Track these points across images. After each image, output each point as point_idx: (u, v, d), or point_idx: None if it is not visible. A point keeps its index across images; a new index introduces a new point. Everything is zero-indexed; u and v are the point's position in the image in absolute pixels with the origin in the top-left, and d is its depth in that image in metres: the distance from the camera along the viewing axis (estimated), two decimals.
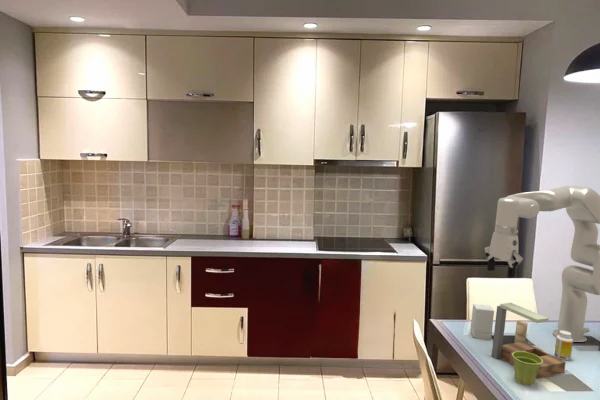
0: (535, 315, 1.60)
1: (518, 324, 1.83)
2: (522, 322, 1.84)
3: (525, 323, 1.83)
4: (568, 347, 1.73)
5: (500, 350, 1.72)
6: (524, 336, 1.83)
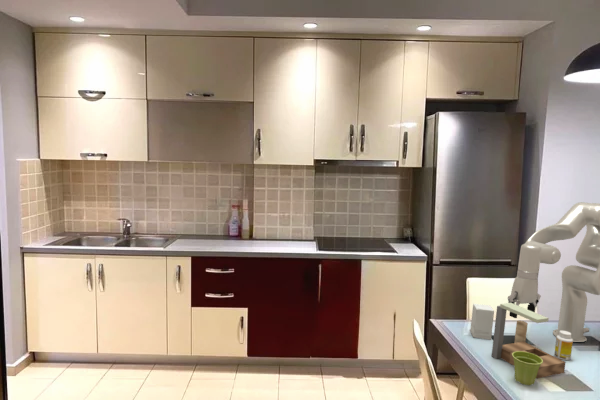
0: (535, 315, 1.60)
1: (518, 324, 1.83)
2: (522, 322, 1.84)
3: (525, 323, 1.83)
4: (568, 347, 1.73)
5: (500, 350, 1.72)
6: (524, 336, 1.83)
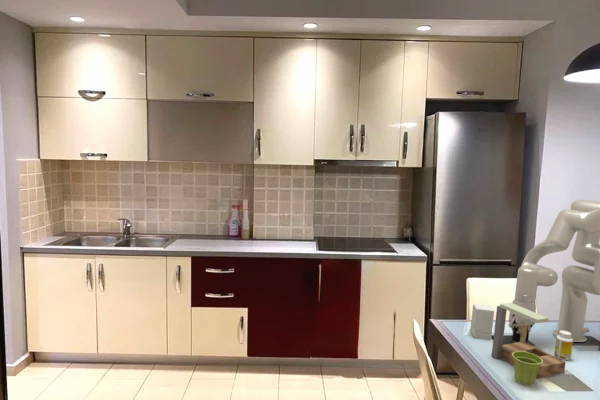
0: (535, 315, 1.60)
1: None
2: None
3: None
4: (568, 347, 1.73)
5: (500, 350, 1.72)
6: (524, 336, 1.83)
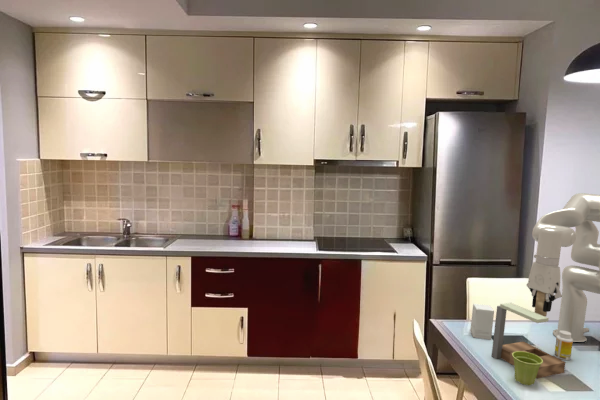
0: (535, 315, 1.60)
1: None
2: None
3: None
4: (568, 347, 1.73)
5: (500, 350, 1.72)
6: None
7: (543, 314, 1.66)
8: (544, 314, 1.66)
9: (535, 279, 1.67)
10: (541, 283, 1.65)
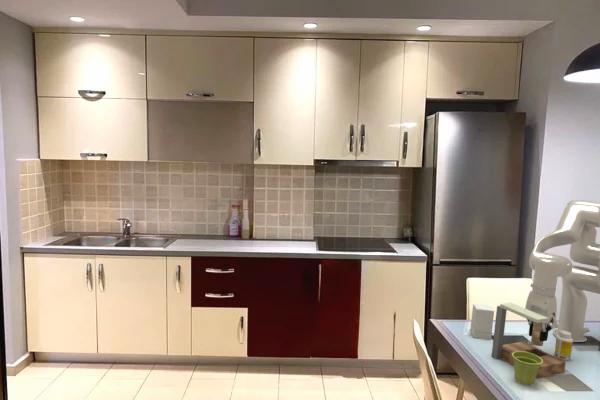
0: (535, 315, 1.60)
1: None
2: None
3: None
4: (568, 347, 1.73)
5: (500, 350, 1.72)
6: None
7: (540, 343, 1.67)
8: (541, 343, 1.68)
9: (532, 308, 1.69)
10: (538, 313, 1.66)
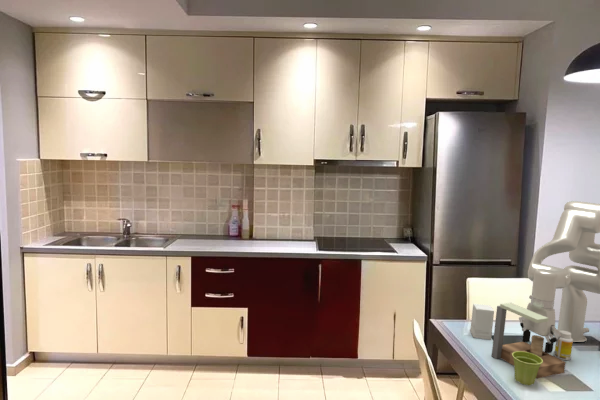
0: (535, 315, 1.60)
1: (542, 341, 1.68)
2: (537, 337, 1.70)
3: (539, 336, 1.70)
4: (568, 347, 1.73)
5: (500, 350, 1.72)
6: None
7: None
8: None
9: (530, 320, 1.69)
10: (536, 325, 1.67)
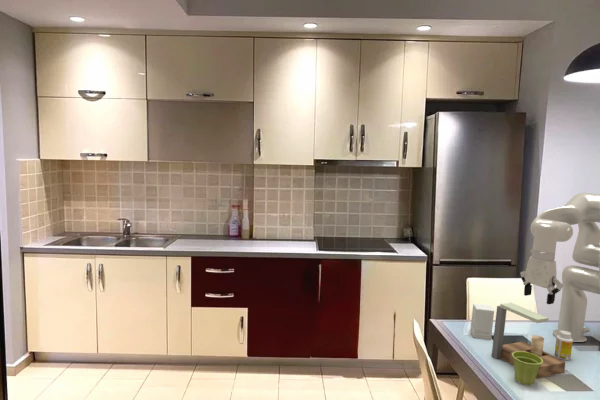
0: (535, 315, 1.60)
1: (542, 341, 1.68)
2: (537, 337, 1.70)
3: (539, 336, 1.70)
4: (568, 347, 1.73)
5: (500, 350, 1.72)
6: None
7: None
8: None
9: (532, 273, 1.72)
10: (538, 277, 1.69)
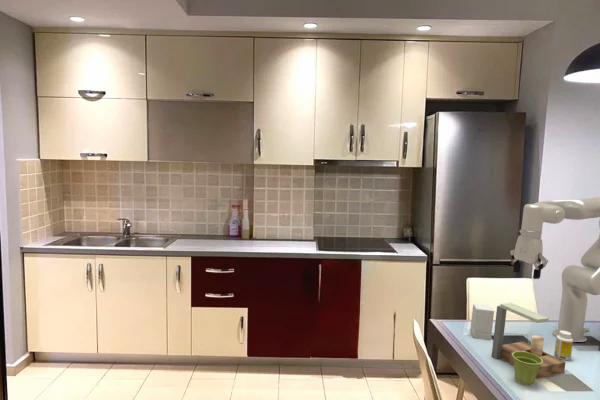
0: (535, 315, 1.60)
1: (542, 341, 1.68)
2: (537, 337, 1.70)
3: (539, 336, 1.70)
4: (568, 347, 1.73)
5: (500, 350, 1.72)
6: None
7: None
8: None
9: (520, 251, 1.86)
10: (525, 254, 1.84)
